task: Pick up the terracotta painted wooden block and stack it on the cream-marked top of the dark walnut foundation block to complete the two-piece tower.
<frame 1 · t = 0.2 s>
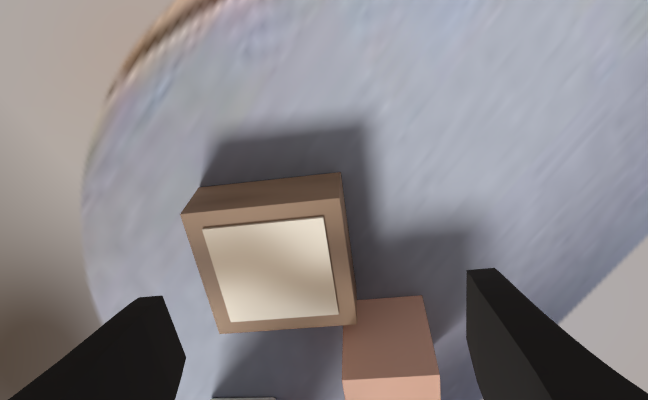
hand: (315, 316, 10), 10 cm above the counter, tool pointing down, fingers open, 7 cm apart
terracotta block: (385, 327, 23), on the counter
walnut foundation: (281, 241, 21), on the counter
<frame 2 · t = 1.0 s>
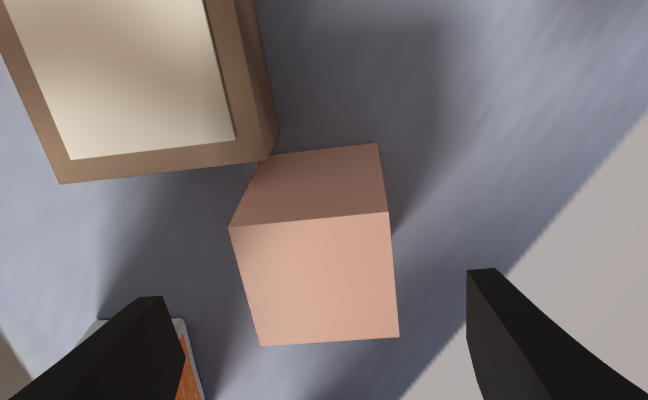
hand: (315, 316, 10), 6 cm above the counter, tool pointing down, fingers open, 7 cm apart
terracotta block: (327, 200, 16), on the counter
skincare box: (158, 361, 21), on the counter
walnut foundation: (159, 47, 14), on the counter
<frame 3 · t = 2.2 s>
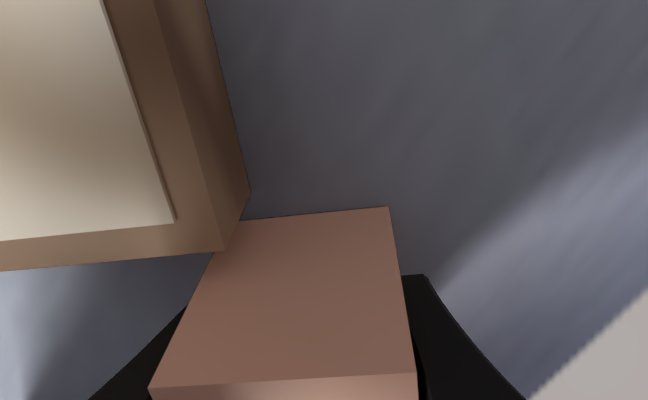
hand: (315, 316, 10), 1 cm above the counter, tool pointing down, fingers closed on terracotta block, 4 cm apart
terracotta block: (318, 279, 12), on the counter, touching gripper
walnut foundation: (73, 75, 10), on the counter
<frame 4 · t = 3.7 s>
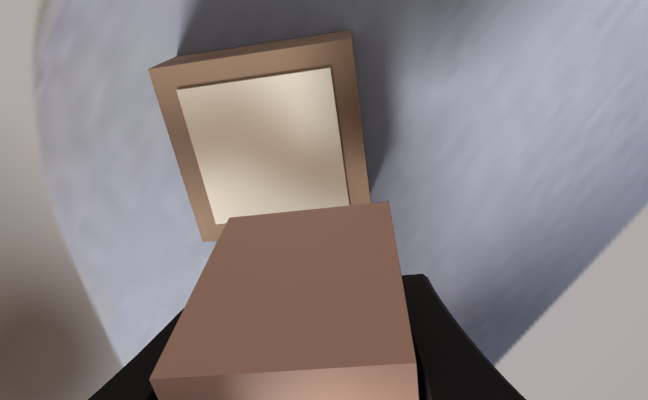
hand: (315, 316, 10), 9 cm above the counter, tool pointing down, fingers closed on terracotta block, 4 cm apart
terracotta block: (319, 275, 12), point 7 cm above the counter, touching gripper
walnut foundation: (278, 129, 17), on the counter
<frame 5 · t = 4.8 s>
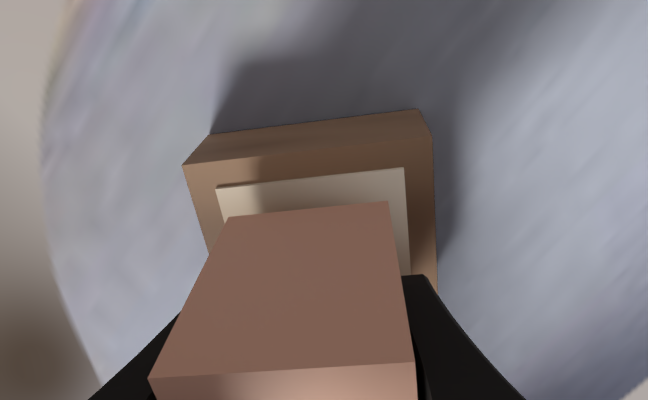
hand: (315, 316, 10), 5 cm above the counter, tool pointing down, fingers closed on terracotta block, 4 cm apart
terracotta block: (318, 274, 12), point 3 cm above the counter, touching gripper
walnut foundation: (325, 214, 15), on the counter
when the fingers open (5 cm above the counter, at t = 5.5 s): terracotta block stays where it is, resting on walnut foundation.
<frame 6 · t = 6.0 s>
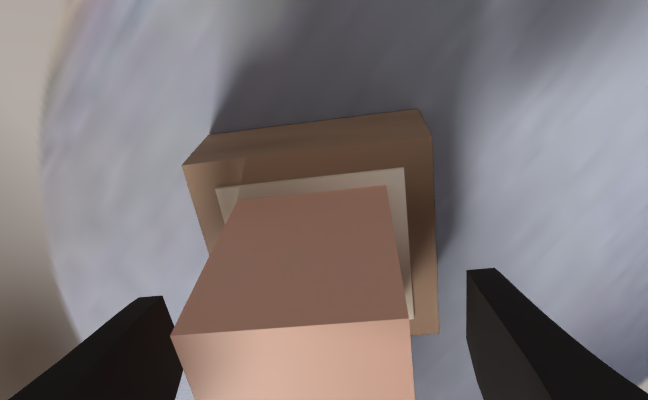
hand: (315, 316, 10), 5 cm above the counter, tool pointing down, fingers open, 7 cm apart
terracotta block: (321, 255, 13), point 3 cm above the counter, touching walnut foundation
walnut foundation: (325, 214, 15), on the counter
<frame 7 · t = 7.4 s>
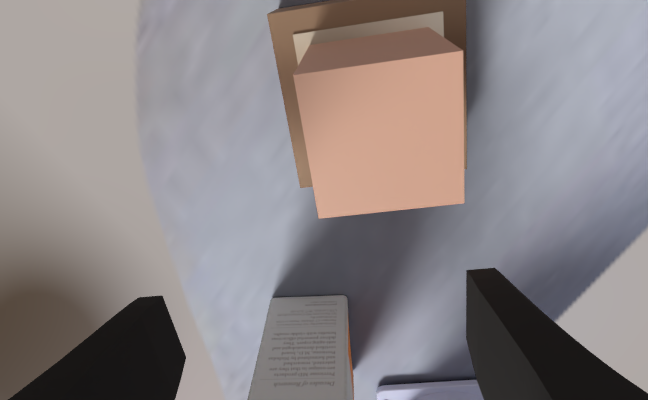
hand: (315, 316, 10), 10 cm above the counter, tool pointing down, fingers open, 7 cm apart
terracotta block: (374, 94, 16), point 3 cm above the counter, touching walnut foundation
skincare box: (314, 332, 25), on the counter
walnut foundation: (370, 81, 18), on the counter
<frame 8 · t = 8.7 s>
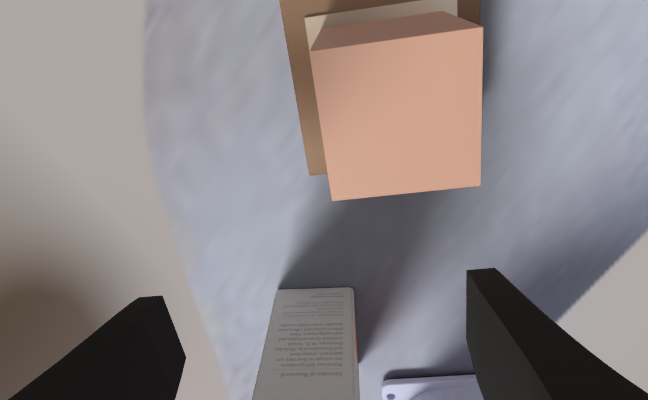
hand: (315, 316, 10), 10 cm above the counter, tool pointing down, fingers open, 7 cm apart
terracotta block: (385, 80, 16), point 3 cm above the counter, touching walnut foundation
skincare box: (319, 325, 25), on the counter
walnut foundation: (380, 69, 18), on the counter
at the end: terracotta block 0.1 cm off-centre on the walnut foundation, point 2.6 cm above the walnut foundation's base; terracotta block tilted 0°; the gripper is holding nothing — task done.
